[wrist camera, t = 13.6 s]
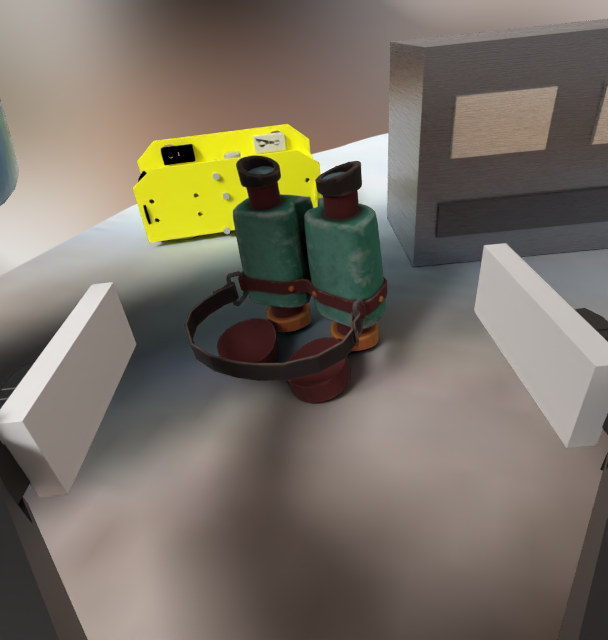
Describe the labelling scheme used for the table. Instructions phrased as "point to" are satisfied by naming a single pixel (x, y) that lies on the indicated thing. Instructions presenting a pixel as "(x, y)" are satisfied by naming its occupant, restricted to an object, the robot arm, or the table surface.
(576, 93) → the box
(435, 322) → the table surface
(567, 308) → the robot arm
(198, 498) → the table surface
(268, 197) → the binoculars
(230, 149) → the yellow toy chassis
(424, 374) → the table surface
